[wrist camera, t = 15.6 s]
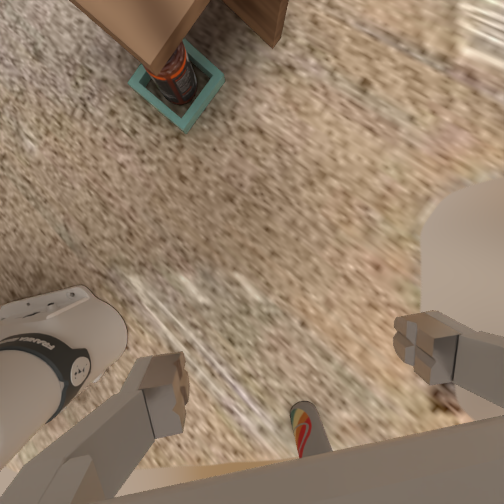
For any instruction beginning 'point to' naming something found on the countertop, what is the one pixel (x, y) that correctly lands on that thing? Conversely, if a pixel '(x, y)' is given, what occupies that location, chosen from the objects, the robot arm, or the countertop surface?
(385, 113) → the countertop surface
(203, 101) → the socket
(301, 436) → the lotion bottle
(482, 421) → the robot arm
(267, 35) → the wooden l-shaped bracket
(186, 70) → the supplement bottle
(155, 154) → the countertop surface
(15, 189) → the countertop surface
